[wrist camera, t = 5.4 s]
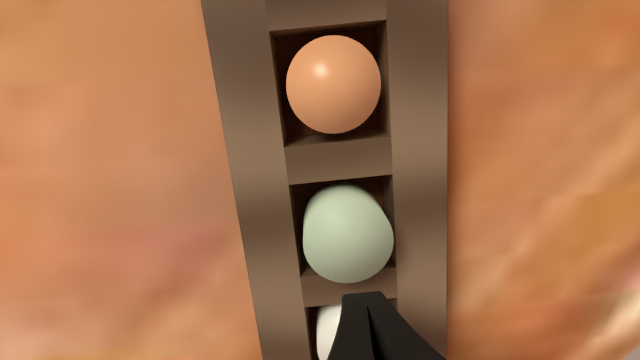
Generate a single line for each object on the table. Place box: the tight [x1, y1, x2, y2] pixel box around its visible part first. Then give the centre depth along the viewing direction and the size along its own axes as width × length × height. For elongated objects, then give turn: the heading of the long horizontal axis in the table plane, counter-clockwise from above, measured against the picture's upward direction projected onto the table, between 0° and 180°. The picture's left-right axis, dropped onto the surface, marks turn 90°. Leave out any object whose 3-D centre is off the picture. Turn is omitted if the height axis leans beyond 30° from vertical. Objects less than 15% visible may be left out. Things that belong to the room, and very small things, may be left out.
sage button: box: [303, 182, 394, 283], centre depth 15 cm, size 4×4×2 cm
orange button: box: [286, 35, 381, 134], centre depth 14 cm, size 4×4×2 cm
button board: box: [201, 0, 448, 360], centre depth 16 cm, size 20×9×2 cm, turn 6°
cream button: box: [316, 304, 342, 360], centre depth 18 cm, size 4×4×2 cm
